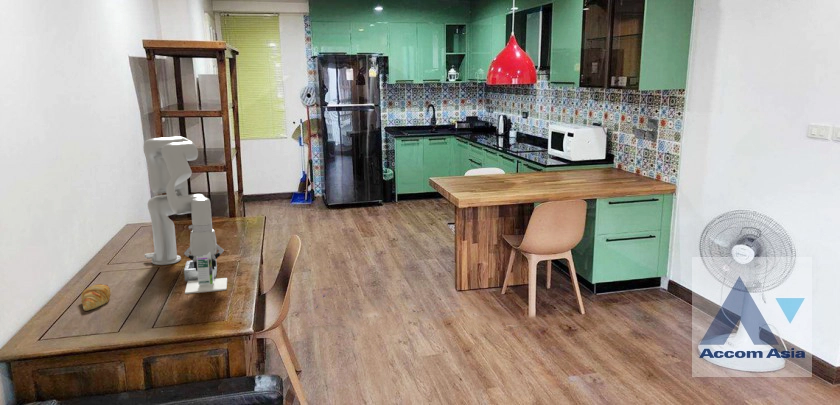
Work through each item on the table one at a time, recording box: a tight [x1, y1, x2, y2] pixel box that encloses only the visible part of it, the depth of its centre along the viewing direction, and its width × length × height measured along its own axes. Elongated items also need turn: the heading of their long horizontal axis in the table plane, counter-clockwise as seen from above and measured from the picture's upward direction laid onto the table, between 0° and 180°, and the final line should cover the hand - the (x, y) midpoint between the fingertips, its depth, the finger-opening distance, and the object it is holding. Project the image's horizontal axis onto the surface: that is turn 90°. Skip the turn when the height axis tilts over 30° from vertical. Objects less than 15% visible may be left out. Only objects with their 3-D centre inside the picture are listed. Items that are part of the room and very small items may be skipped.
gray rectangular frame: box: [183, 260, 218, 282], centre depth 250 cm, size 12×19×5 cm, turn 17°
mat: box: [184, 277, 228, 295], centre depth 235 cm, size 16×13×1 cm
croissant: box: [80, 283, 112, 311], centre depth 217 cm, size 21×10×8 cm, turn 11°
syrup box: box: [196, 252, 214, 285], centre depth 233 cm, size 6×6×14 cm
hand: (205, 268), depth 234 cm, fingers closed on syrup box, 5 cm apart
